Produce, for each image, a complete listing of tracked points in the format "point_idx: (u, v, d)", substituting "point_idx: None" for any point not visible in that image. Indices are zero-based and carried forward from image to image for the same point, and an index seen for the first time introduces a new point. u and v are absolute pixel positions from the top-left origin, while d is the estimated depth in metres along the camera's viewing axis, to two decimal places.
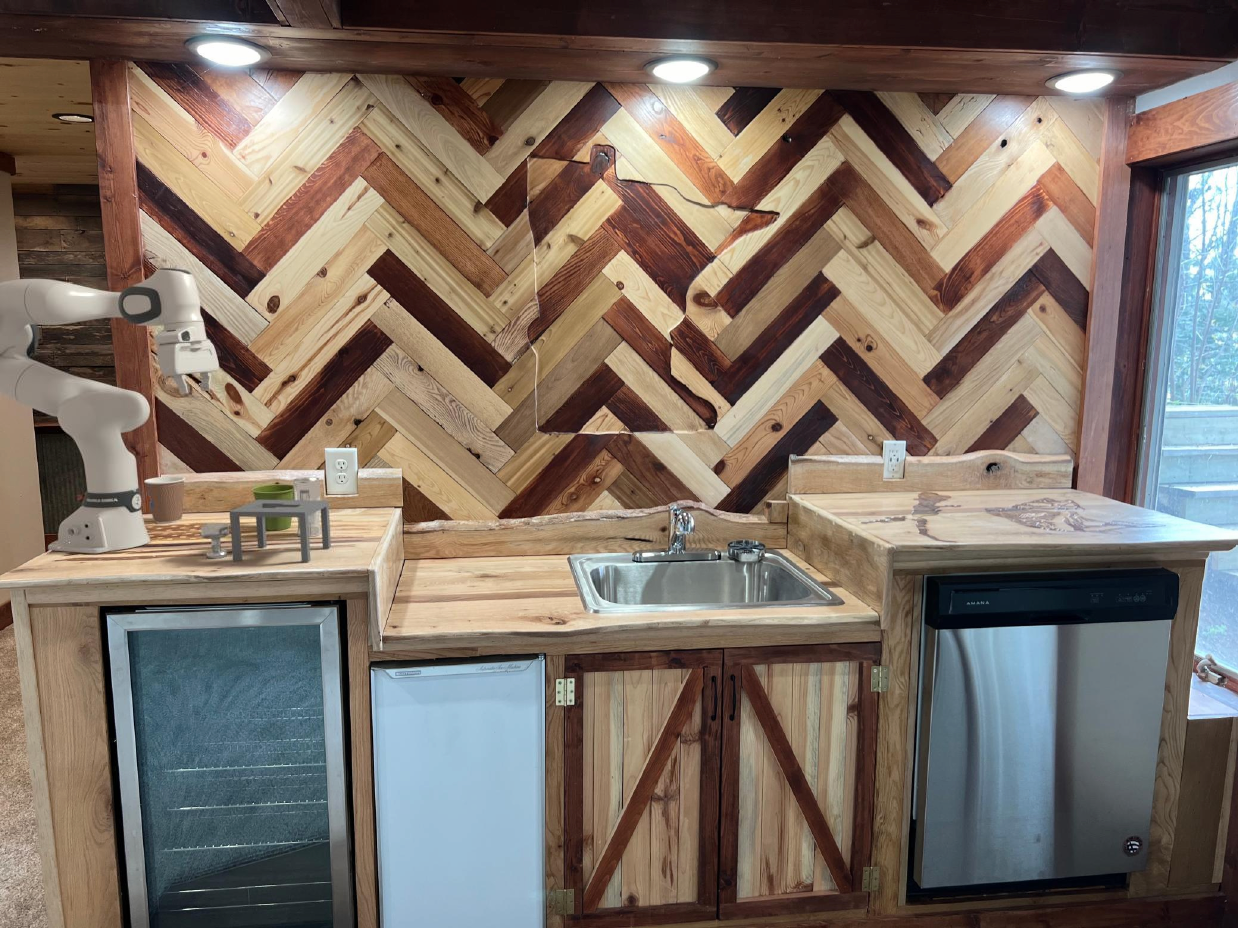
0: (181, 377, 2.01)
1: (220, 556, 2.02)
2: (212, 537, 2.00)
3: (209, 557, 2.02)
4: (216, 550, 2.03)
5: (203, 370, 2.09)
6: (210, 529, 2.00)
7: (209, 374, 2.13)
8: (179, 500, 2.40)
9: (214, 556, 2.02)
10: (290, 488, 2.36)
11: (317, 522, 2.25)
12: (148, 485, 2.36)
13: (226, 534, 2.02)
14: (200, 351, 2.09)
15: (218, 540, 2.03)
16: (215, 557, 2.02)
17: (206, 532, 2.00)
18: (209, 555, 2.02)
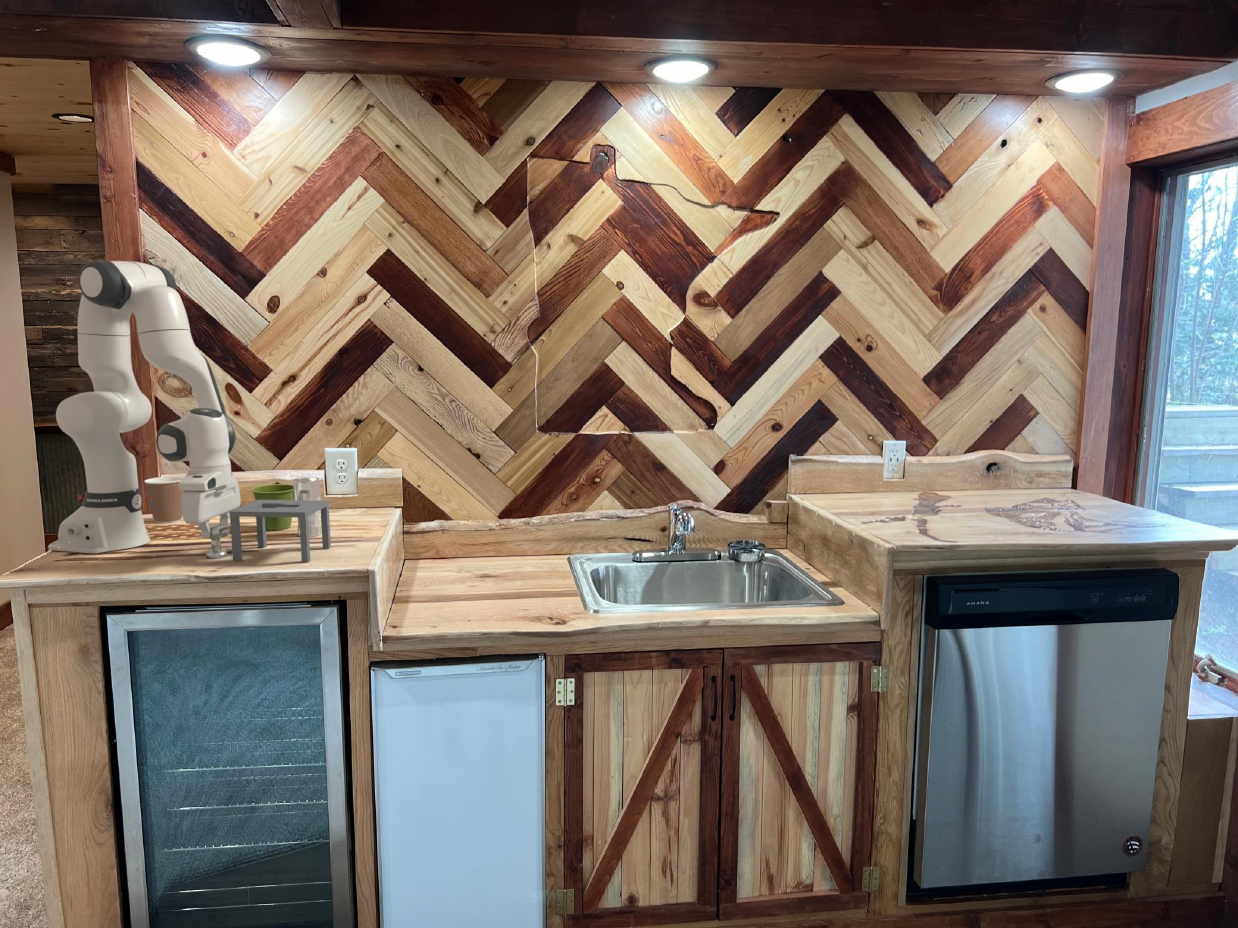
0: (205, 523, 1.97)
1: (220, 556, 2.02)
2: (212, 537, 2.00)
3: (209, 557, 2.02)
4: (216, 550, 2.03)
5: (225, 511, 2.04)
6: (210, 529, 2.00)
7: (228, 513, 2.07)
8: (179, 500, 2.40)
9: (214, 556, 2.02)
10: (290, 488, 2.36)
11: (317, 522, 2.25)
12: (148, 485, 2.36)
13: (226, 534, 2.02)
14: (224, 492, 2.04)
15: (218, 540, 2.03)
16: (215, 557, 2.02)
17: None
18: (209, 555, 2.02)
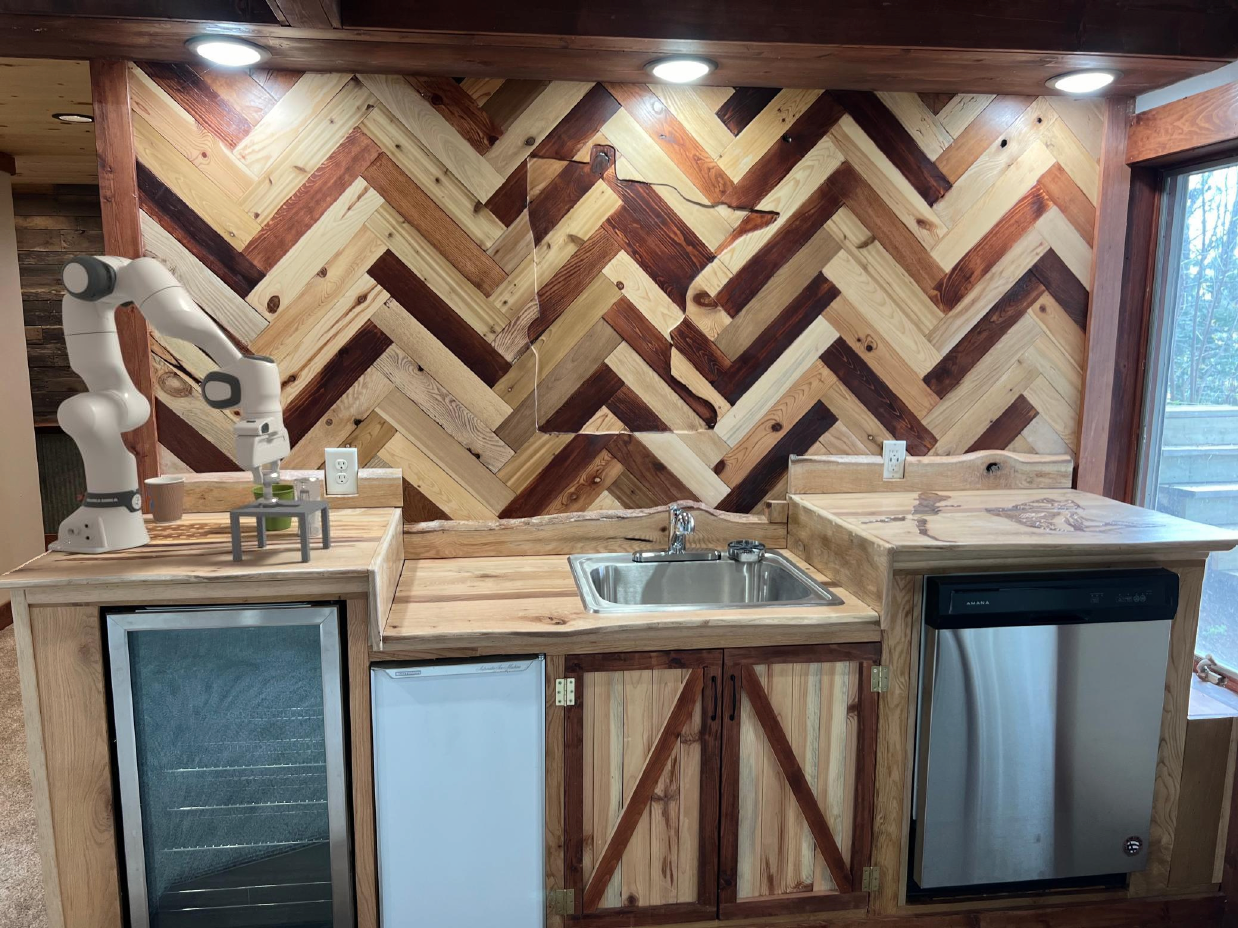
0: (258, 468, 1.97)
1: (272, 502, 2.03)
2: (264, 483, 2.00)
3: (261, 504, 2.02)
4: (268, 497, 2.03)
5: (276, 458, 2.04)
6: (263, 475, 2.00)
7: (279, 461, 2.07)
8: (179, 500, 2.40)
9: (266, 502, 2.02)
10: (290, 488, 2.36)
11: (317, 522, 2.25)
12: (148, 485, 2.36)
13: (278, 481, 2.03)
14: (275, 439, 2.04)
15: (270, 487, 2.03)
16: (268, 503, 2.02)
17: None
18: (261, 502, 2.02)
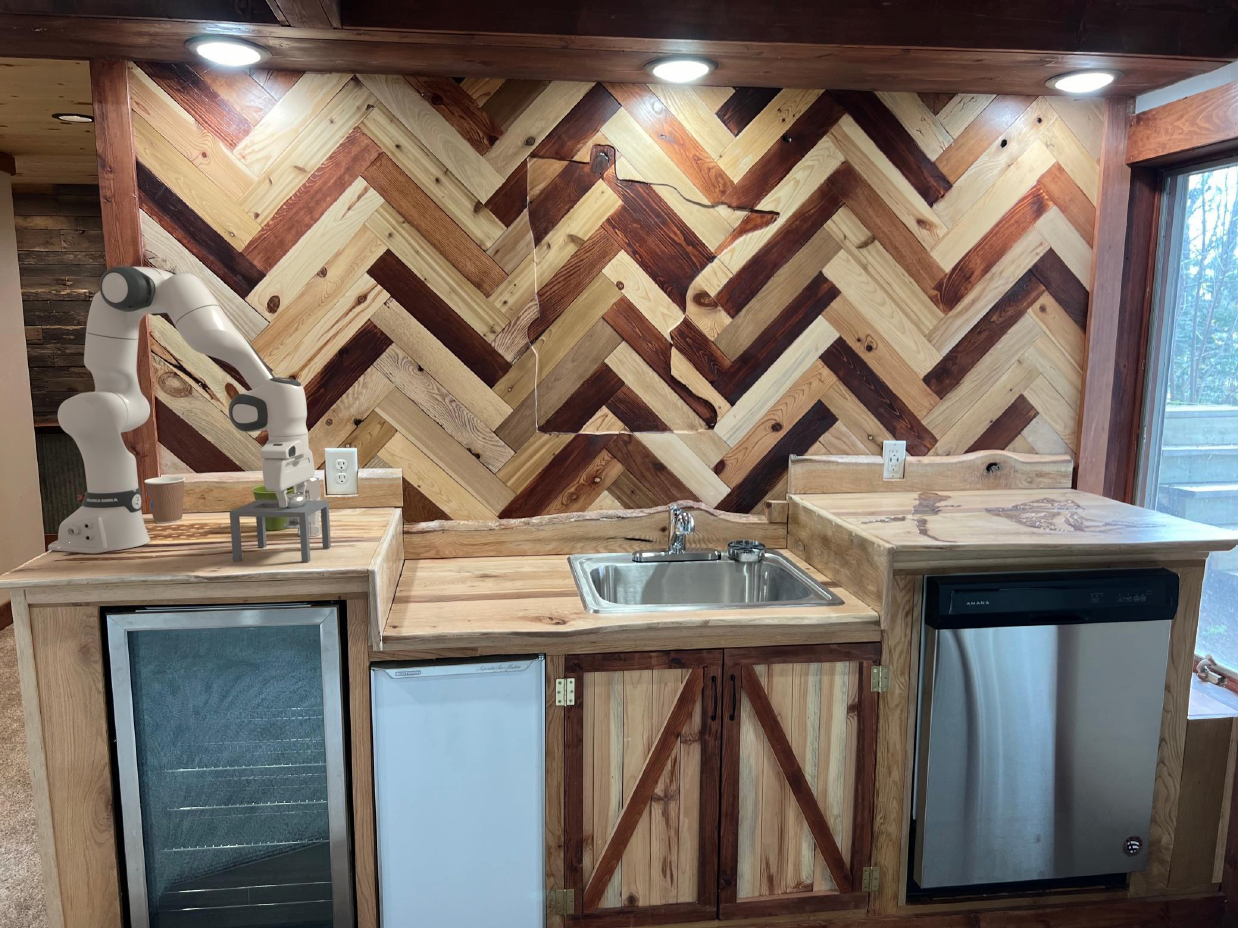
0: (283, 492, 1.97)
1: (297, 526, 2.03)
2: (290, 507, 2.01)
3: (287, 527, 2.03)
4: (293, 520, 2.04)
5: (301, 480, 2.05)
6: (289, 499, 2.01)
7: (305, 482, 2.09)
8: (179, 500, 2.40)
9: (292, 526, 2.03)
10: (290, 488, 2.36)
11: (317, 522, 2.25)
12: (148, 485, 2.36)
13: (303, 504, 2.03)
14: (300, 461, 2.05)
15: None
16: (293, 527, 2.03)
17: None
18: (287, 525, 2.03)
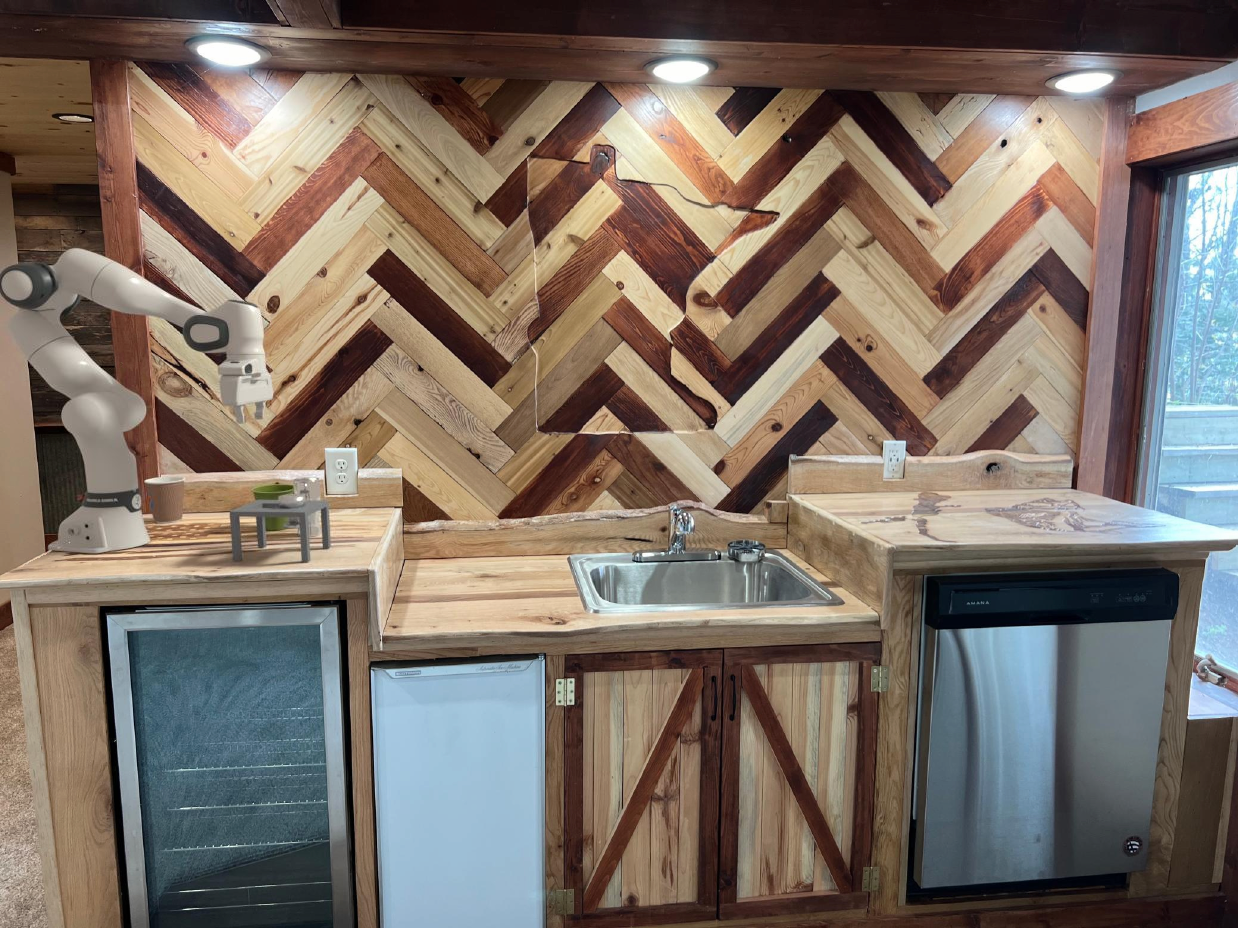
0: (240, 408, 2.06)
1: (297, 526, 2.03)
2: (290, 507, 2.01)
3: (287, 527, 2.03)
4: (293, 520, 2.04)
5: (259, 400, 2.15)
6: (289, 499, 2.01)
7: (264, 403, 2.19)
8: (179, 500, 2.40)
9: (292, 526, 2.03)
10: (290, 488, 2.36)
11: (317, 522, 2.25)
12: (148, 485, 2.36)
13: (303, 504, 2.03)
14: (258, 381, 2.14)
15: None
16: (293, 527, 2.03)
17: (284, 502, 2.01)
18: (287, 525, 2.03)
